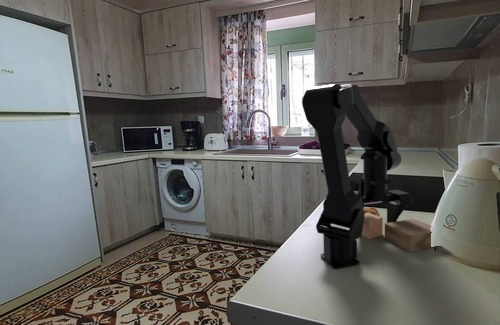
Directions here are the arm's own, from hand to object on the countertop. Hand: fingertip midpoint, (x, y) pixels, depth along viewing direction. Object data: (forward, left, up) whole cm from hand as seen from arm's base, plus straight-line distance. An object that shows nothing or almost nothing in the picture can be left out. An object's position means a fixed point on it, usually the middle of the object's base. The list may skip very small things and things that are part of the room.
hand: (374, 231), depth 79 cm
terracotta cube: (-1, +2, -1) cm, 2 cm away
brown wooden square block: (+6, -7, -1) cm, 9 cm away
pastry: (+5, +12, -2) cm, 13 cm away
